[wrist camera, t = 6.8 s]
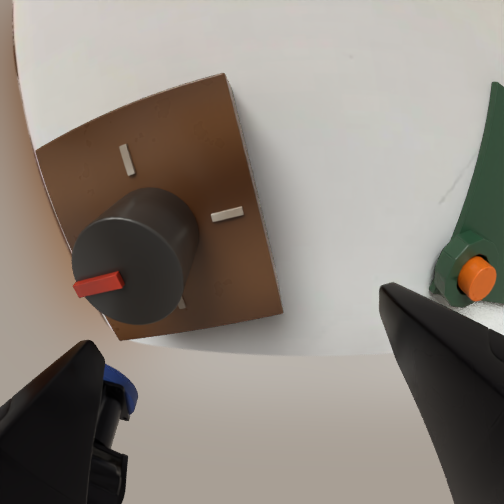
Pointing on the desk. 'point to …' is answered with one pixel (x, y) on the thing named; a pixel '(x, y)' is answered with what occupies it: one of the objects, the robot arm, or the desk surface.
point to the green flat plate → (479, 215)
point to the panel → (182, 185)
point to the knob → (137, 256)
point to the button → (477, 278)
